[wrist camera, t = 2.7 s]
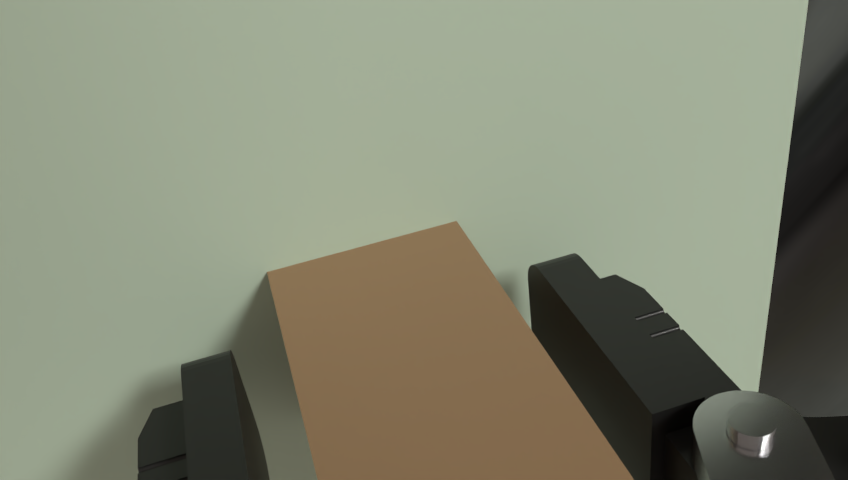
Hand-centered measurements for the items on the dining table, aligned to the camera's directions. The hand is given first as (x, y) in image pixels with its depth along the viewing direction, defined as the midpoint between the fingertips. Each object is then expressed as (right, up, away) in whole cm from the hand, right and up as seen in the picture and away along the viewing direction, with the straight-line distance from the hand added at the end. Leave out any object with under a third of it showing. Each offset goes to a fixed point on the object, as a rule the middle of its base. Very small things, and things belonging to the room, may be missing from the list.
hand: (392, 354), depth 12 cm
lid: (0, +1, +1) cm, 2 cm away
